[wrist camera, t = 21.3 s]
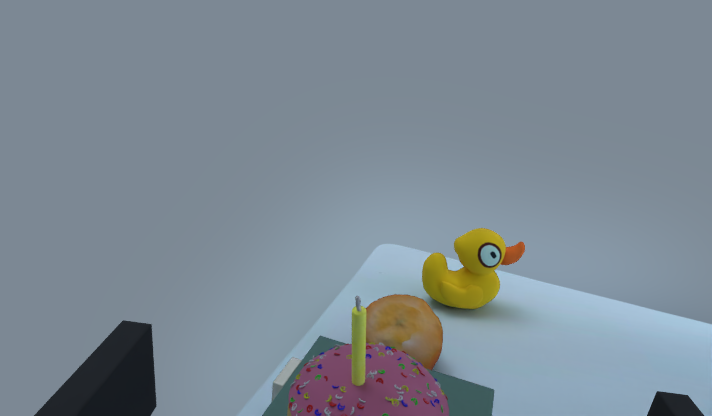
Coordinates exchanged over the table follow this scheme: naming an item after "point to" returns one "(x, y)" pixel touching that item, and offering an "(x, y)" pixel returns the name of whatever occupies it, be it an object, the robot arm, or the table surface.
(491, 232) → the duckling
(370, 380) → the cupcake
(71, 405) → the robot arm
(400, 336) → the fruit
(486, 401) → the lunchbox
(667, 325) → the table surface
